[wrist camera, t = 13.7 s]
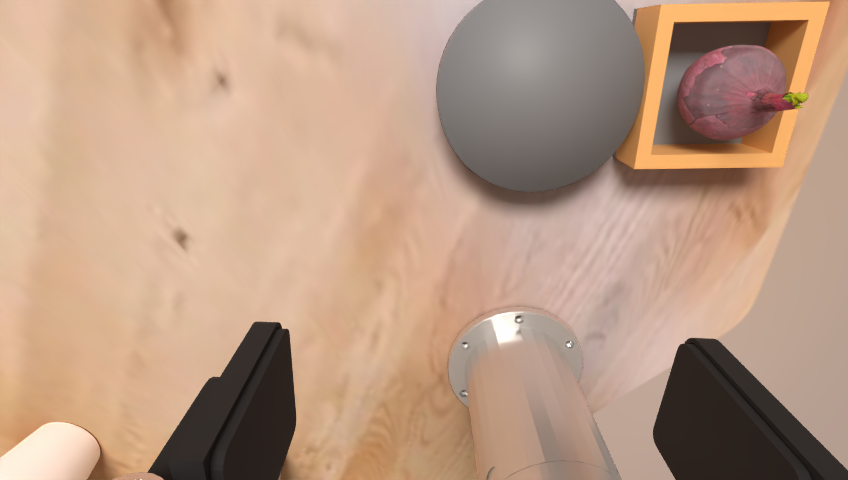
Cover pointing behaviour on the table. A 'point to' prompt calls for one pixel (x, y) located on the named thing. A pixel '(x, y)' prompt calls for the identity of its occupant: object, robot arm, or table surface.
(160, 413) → the table surface
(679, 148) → the dome with orange frame
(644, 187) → the table surface
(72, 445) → the cup
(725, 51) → the vegetable
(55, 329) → the table surface
